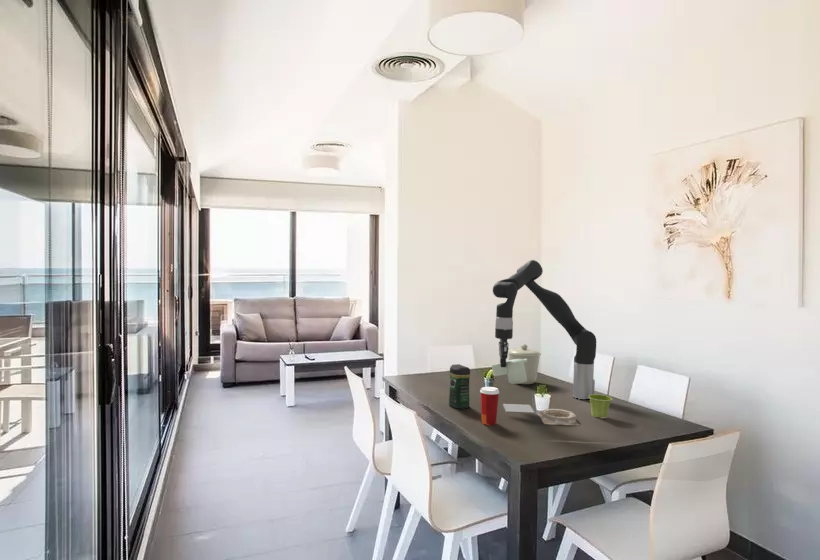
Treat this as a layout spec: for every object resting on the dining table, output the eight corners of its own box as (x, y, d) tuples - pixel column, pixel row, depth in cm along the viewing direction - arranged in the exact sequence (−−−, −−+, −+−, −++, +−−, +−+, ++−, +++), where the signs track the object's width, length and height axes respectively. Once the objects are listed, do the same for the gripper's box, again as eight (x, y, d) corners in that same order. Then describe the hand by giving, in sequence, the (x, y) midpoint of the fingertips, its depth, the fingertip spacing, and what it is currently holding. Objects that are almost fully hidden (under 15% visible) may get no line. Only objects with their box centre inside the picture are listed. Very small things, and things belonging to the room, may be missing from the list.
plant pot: (613, 417, 213) (614, 396, 213) (608, 422, 205) (609, 401, 205) (591, 413, 218) (591, 393, 218) (585, 418, 210) (585, 397, 210)
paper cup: (501, 422, 202) (502, 388, 201) (494, 427, 195) (495, 392, 195) (483, 419, 206) (484, 385, 205) (475, 424, 199) (476, 389, 199)
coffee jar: (472, 408, 221) (473, 366, 221) (456, 410, 218) (457, 367, 218) (461, 402, 230) (462, 362, 230) (446, 404, 227) (447, 363, 226)
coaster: (529, 406, 226) (529, 404, 226) (534, 414, 214) (534, 412, 214) (502, 405, 227) (502, 403, 227) (506, 413, 215) (506, 411, 215)
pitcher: (528, 377, 223) (524, 357, 223) (531, 381, 215) (528, 360, 215) (494, 382, 224) (490, 363, 224) (496, 387, 216) (492, 366, 216)
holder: (570, 416, 212) (571, 409, 212) (579, 426, 198) (580, 419, 198) (537, 415, 213) (537, 407, 213) (544, 425, 199) (544, 417, 199)
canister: (511, 377, 286) (512, 340, 285) (543, 381, 278) (544, 343, 277) (502, 383, 270) (503, 344, 269) (536, 388, 262) (537, 348, 261)
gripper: (493, 325, 226) (492, 363, 227) (497, 329, 213) (496, 369, 213) (510, 325, 226) (509, 364, 226) (515, 329, 212) (513, 370, 213)
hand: (502, 366), depth 220 cm, fingers closed on pitcher, 1 cm apart
